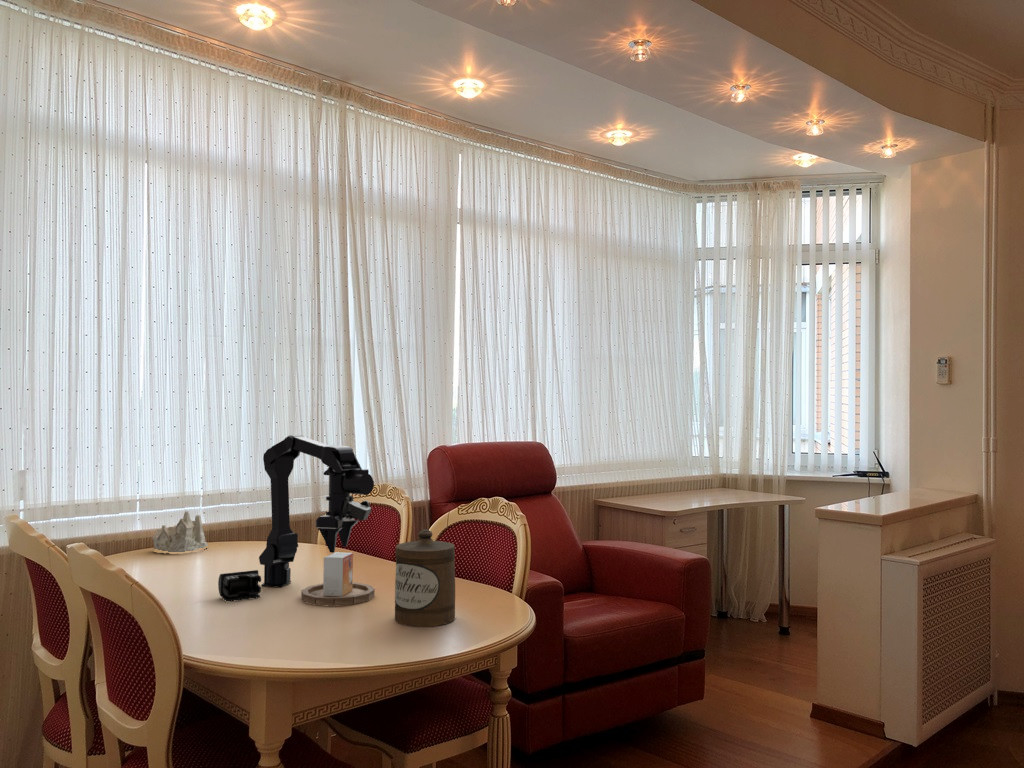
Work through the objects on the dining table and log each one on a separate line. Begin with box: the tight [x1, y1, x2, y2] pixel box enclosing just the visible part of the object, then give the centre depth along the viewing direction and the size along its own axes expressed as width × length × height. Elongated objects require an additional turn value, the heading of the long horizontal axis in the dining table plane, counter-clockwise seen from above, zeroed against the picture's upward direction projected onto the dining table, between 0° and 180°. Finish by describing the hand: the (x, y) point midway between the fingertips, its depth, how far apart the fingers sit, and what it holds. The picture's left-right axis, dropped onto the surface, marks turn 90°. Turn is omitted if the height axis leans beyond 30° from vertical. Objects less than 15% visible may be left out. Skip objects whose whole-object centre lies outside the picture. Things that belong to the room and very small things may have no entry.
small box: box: [322, 551, 354, 597], centre depth 222 cm, size 8×6×10 cm
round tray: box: [300, 582, 376, 607], centre depth 222 cm, size 19×19×2 cm
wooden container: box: [394, 528, 456, 628], centre depth 201 cm, size 15×15×22 cm
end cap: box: [217, 569, 262, 602], centre depth 221 cm, size 10×7×7 cm
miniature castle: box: [152, 510, 209, 552], centre depth 289 cm, size 16×16×15 cm
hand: (338, 549), depth 223 cm, fingers open, 9 cm apart
